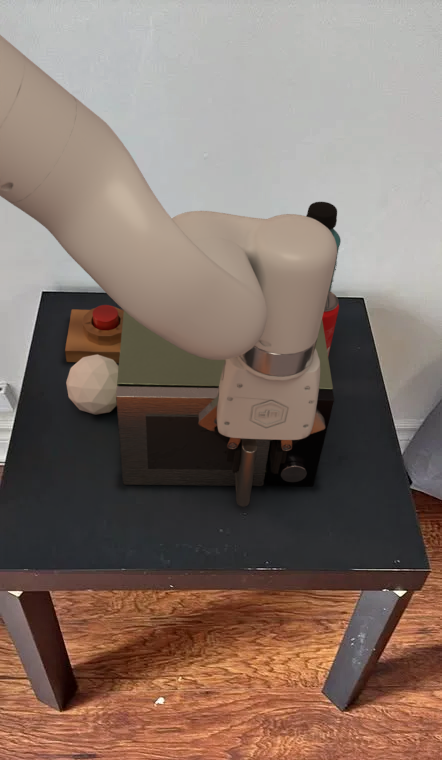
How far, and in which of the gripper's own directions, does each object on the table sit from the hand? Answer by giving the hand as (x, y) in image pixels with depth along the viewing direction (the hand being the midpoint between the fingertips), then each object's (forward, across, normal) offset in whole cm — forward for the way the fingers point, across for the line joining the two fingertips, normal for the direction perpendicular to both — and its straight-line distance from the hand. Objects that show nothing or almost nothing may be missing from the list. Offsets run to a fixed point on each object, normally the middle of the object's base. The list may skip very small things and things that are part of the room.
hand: (254, 462), depth 87 cm
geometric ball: (+9, -20, +17) cm, 27 cm away
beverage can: (+8, +10, +25) cm, 28 cm away
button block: (+8, -19, +29) cm, 36 cm away
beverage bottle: (+8, +10, +34) cm, 36 cm away
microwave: (+8, -3, +11) cm, 14 cm away
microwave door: (+8, -7, +1) cm, 11 cm away
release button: (+5, -19, +29) cm, 35 cm away
